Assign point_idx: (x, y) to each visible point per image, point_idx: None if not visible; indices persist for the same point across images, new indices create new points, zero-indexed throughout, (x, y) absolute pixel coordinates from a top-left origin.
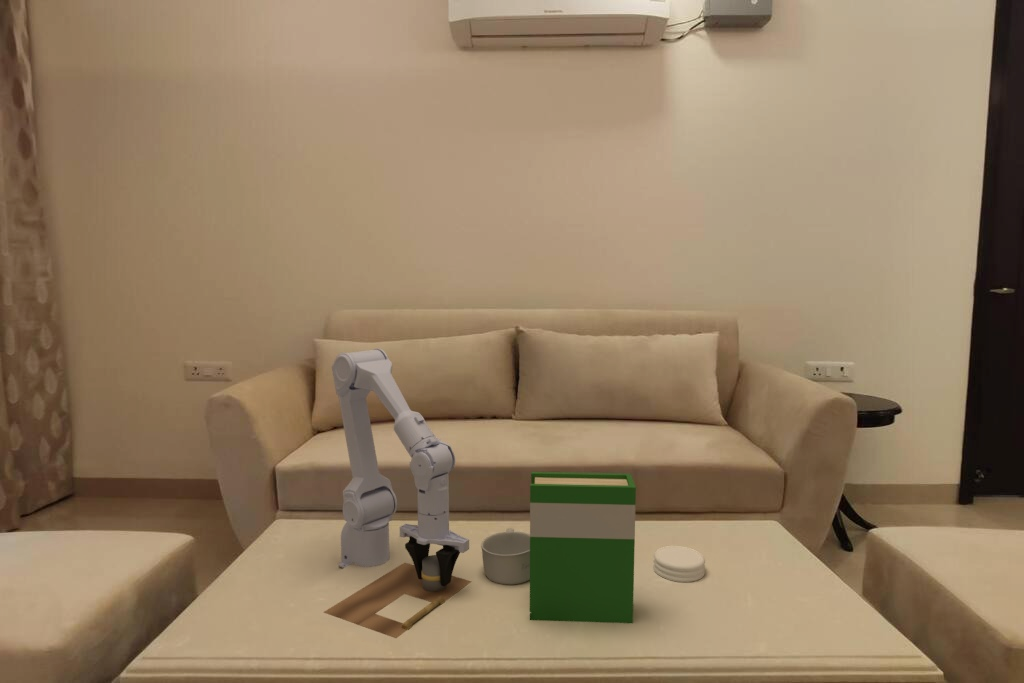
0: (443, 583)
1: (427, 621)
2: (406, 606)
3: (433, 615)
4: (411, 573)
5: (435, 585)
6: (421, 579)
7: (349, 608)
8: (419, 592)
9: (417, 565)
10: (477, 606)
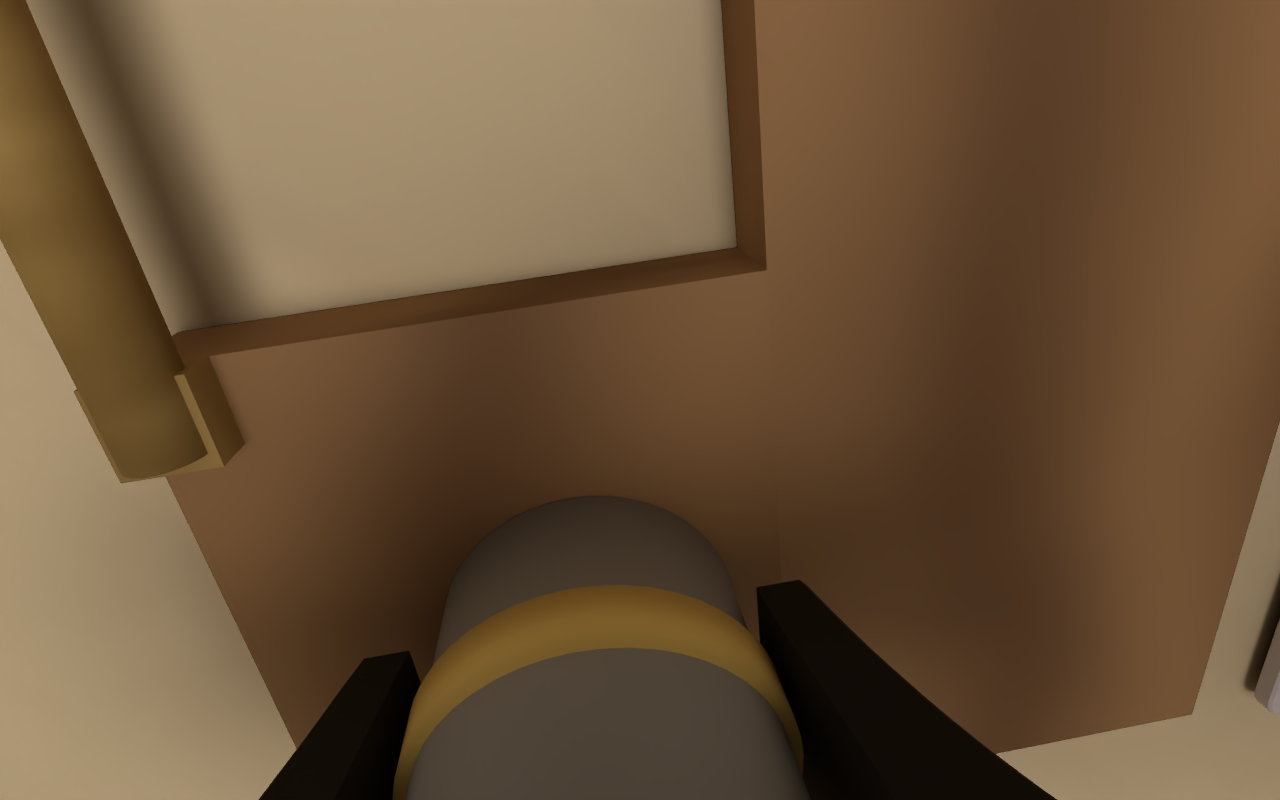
0: (343, 687)
1: (93, 64)
2: (634, 176)
3: (186, 236)
4: (1002, 629)
5: (462, 605)
6: None
7: None
8: (618, 415)
9: (872, 737)
10: (32, 662)
